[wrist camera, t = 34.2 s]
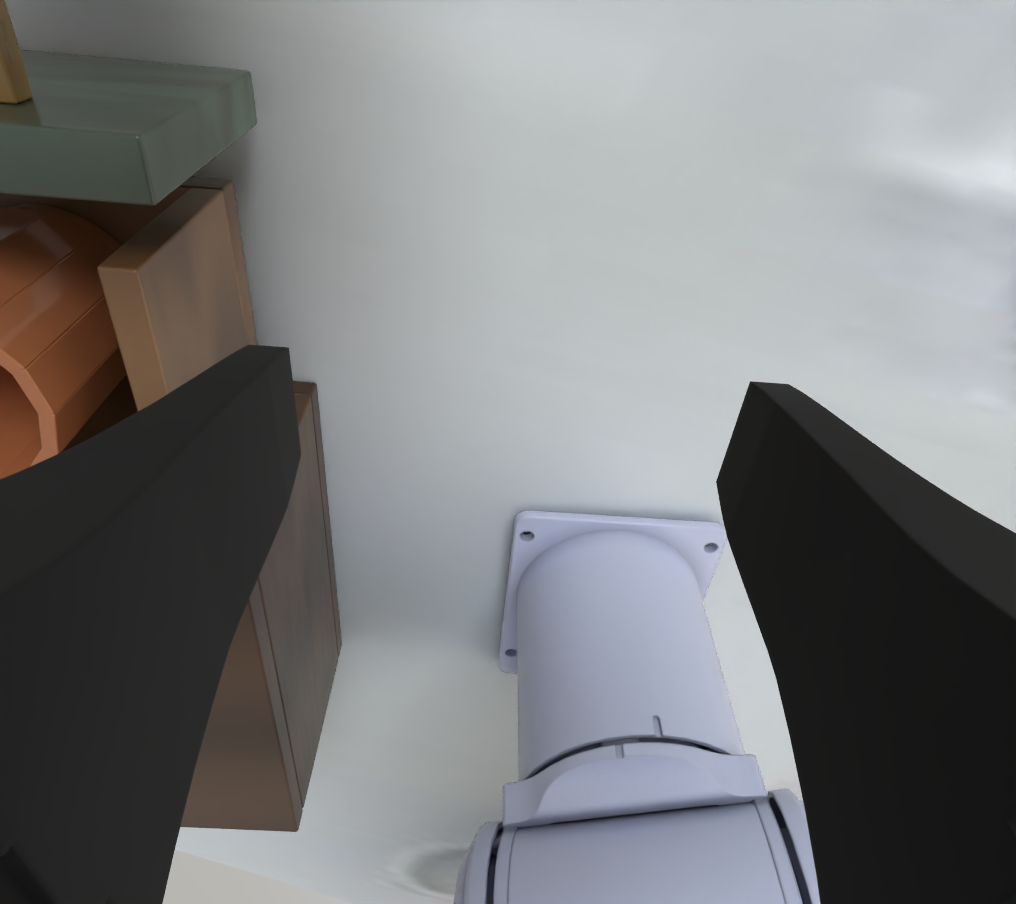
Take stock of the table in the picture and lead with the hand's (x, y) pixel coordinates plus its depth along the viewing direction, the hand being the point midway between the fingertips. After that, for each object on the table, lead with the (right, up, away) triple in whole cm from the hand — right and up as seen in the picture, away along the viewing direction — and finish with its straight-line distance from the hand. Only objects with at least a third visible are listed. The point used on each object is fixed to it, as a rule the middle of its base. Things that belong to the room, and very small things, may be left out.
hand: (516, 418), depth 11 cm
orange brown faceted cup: (-12, +4, +8) cm, 15 cm away
